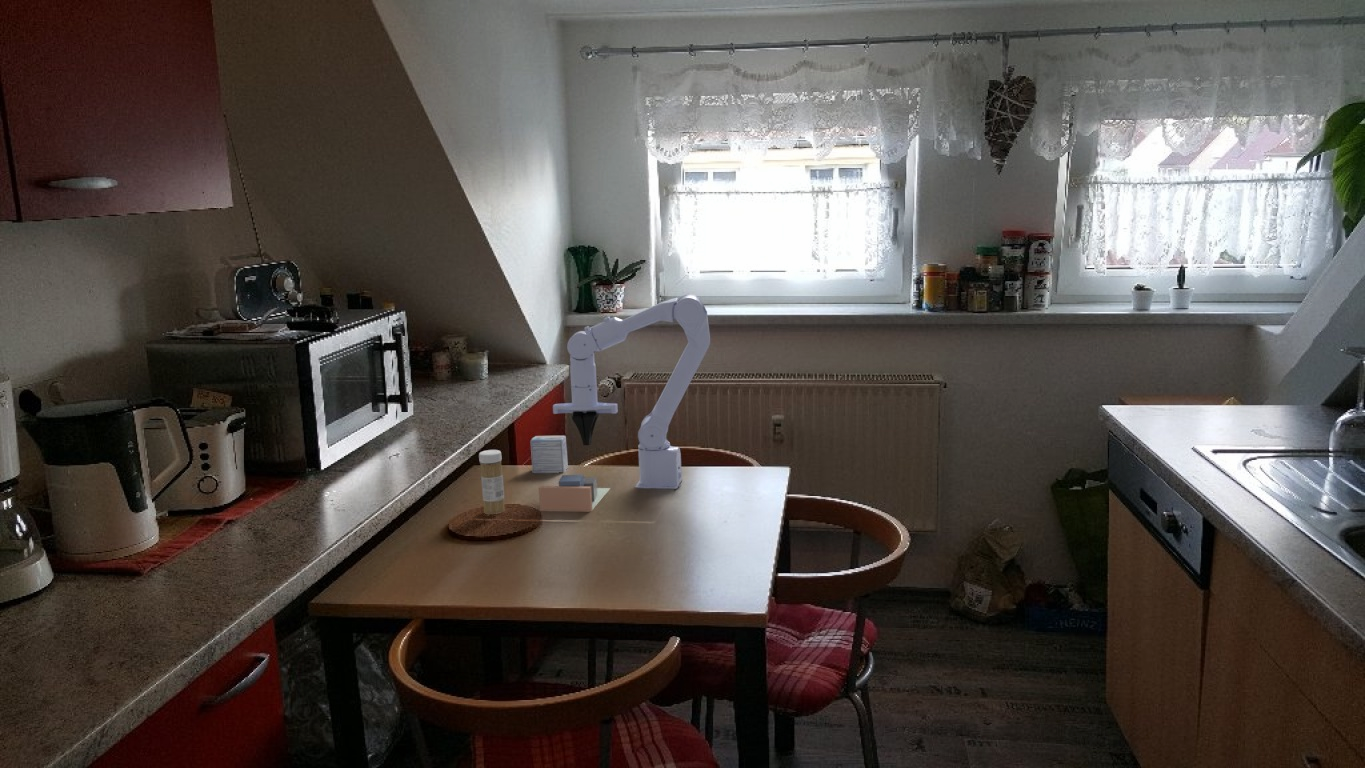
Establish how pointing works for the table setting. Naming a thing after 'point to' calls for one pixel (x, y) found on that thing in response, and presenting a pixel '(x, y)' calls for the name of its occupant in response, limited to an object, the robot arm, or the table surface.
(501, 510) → the sprinkles bottle
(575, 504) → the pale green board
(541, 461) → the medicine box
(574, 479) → the slate blue carton
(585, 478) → the grey toy block
